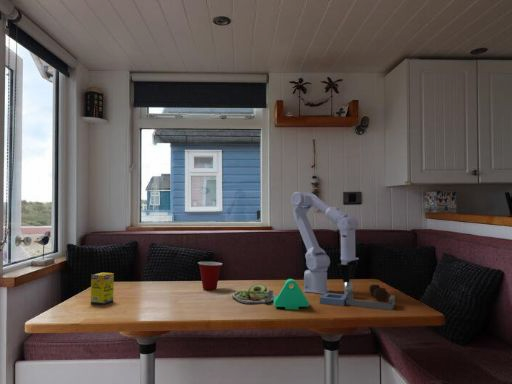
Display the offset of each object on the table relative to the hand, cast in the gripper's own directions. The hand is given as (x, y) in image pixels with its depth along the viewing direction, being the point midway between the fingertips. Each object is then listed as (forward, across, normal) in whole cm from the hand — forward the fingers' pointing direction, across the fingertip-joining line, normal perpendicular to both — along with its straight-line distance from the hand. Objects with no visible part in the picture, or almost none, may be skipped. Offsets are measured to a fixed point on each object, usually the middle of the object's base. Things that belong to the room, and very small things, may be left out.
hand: (348, 280), depth 156 cm
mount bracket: (+7, -8, -10) cm, 14 cm away
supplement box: (+7, -50, +82) cm, 96 cm away
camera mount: (+7, -23, +16) cm, 29 cm away
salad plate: (+7, -18, +33) cm, 38 cm away
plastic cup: (+7, -12, +58) cm, 60 cm away
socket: (+7, -10, +3) cm, 12 cm away
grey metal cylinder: (+7, 0, 0) cm, 7 cm away
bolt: (+7, +7, -10) cm, 14 cm away
